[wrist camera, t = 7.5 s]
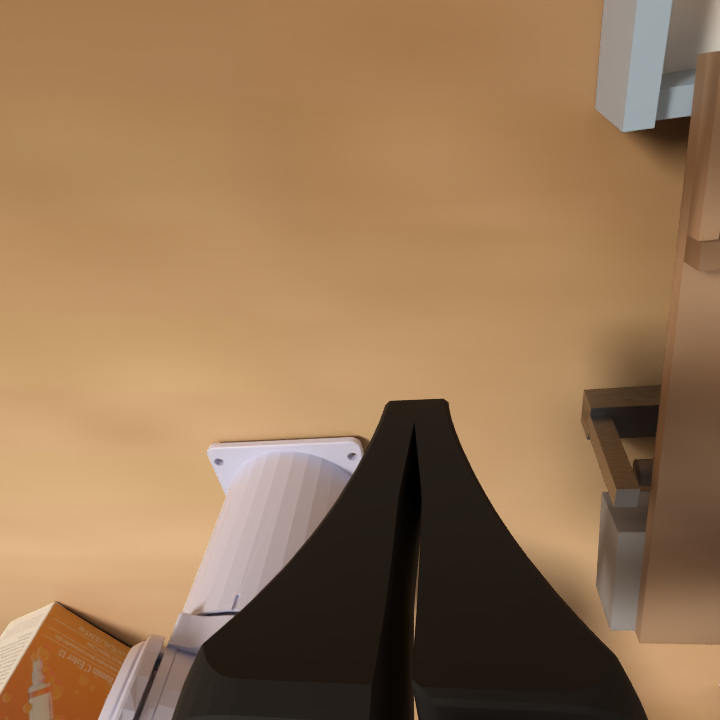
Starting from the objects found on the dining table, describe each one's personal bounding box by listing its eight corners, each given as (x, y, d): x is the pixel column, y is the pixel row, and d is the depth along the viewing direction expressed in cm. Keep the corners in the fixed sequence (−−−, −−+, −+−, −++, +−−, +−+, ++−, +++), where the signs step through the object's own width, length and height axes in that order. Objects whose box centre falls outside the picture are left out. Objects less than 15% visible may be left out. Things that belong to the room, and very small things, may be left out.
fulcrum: (767, 411, 23) (841, 510, 19) (581, 420, 25) (612, 514, 20) (779, 379, 22) (861, 475, 18) (583, 390, 24) (617, 482, 19)
